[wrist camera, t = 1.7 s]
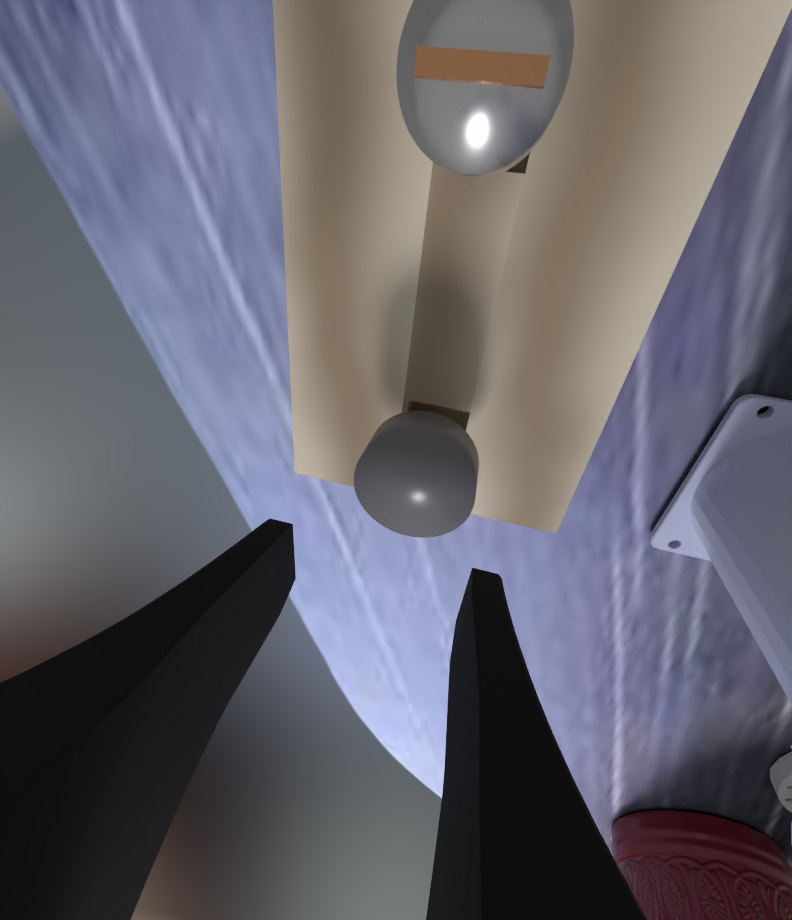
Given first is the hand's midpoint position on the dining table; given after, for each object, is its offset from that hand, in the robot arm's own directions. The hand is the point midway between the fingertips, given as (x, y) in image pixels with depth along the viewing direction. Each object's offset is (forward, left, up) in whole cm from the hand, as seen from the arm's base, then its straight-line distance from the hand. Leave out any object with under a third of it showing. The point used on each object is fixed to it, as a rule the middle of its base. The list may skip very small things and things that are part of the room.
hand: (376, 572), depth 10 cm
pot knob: (0, -10, -7) cm, 12 cm away
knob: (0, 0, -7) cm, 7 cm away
